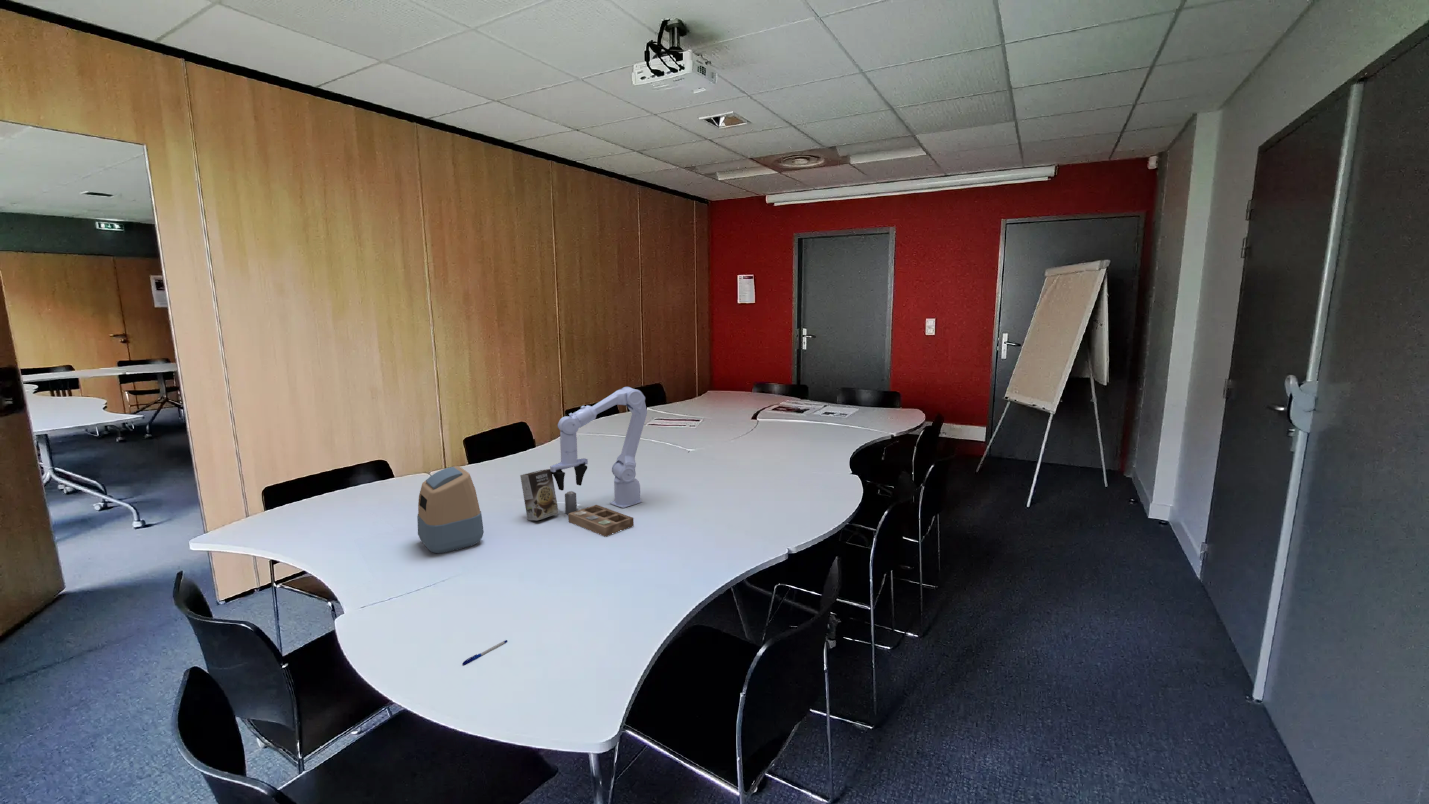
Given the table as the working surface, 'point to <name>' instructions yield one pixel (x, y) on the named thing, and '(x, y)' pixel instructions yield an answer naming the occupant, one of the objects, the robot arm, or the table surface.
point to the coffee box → (539, 494)
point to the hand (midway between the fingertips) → (570, 487)
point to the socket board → (601, 520)
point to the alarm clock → (449, 511)
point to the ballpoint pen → (482, 653)
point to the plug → (570, 502)
